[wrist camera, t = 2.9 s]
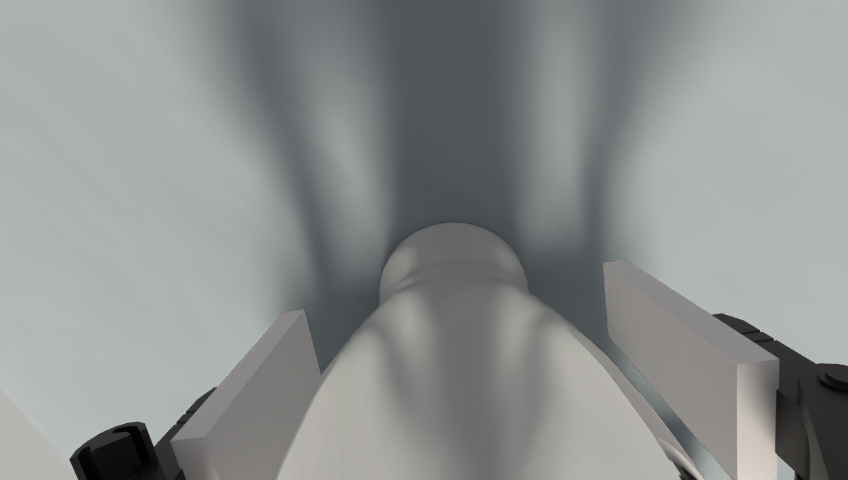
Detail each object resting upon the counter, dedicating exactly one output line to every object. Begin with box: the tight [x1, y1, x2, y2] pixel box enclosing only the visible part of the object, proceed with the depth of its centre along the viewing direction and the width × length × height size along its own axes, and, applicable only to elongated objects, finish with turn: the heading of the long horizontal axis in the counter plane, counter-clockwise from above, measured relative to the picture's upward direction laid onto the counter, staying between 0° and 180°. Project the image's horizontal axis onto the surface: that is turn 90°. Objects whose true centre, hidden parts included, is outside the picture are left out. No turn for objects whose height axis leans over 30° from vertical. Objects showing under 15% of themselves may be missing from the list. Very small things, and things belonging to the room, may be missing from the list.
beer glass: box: [266, 222, 706, 480], centre depth 10 cm, size 7×7×15 cm
